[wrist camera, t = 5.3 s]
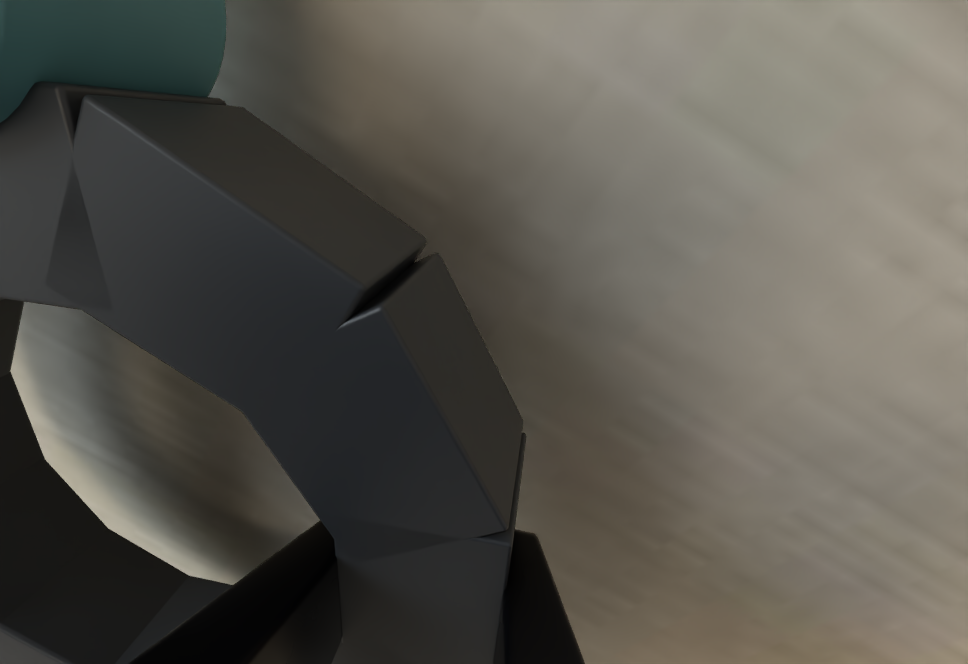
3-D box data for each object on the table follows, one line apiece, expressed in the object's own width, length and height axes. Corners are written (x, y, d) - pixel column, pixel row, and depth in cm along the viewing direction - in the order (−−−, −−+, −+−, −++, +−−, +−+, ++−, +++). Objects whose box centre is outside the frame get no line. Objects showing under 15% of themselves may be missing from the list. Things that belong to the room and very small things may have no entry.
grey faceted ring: (613, -192, 5) (670, -567, 2) (480, 767, 12) (458, 930, 10) (-354, -196, 6) (-992, -423, 4) (62, 664, 14) (-52, 784, 11)
